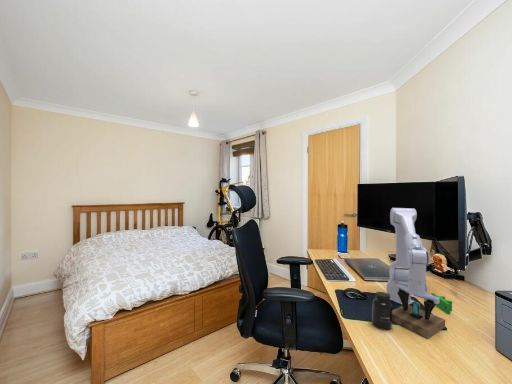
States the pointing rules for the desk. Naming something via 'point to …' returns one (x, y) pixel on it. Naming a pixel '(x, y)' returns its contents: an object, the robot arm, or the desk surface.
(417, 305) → the long pin
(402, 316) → the bored board
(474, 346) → the desk surface
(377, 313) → the supplement bottle
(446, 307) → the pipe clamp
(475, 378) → the desk surface
